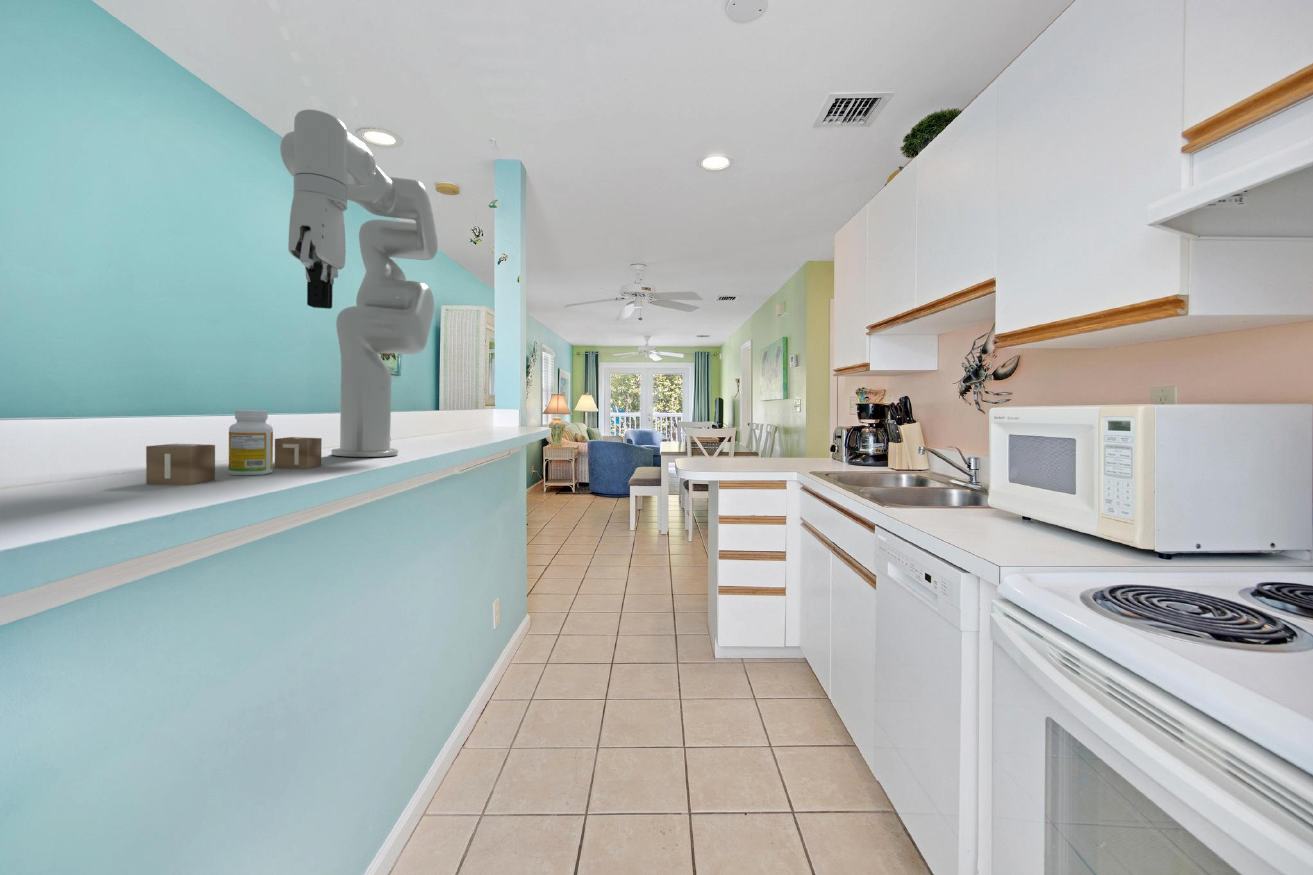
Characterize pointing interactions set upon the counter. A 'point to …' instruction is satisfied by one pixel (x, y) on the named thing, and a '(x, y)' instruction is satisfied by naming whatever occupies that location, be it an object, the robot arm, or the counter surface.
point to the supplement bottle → (250, 444)
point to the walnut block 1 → (180, 464)
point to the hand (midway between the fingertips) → (319, 307)
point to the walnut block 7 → (297, 453)
